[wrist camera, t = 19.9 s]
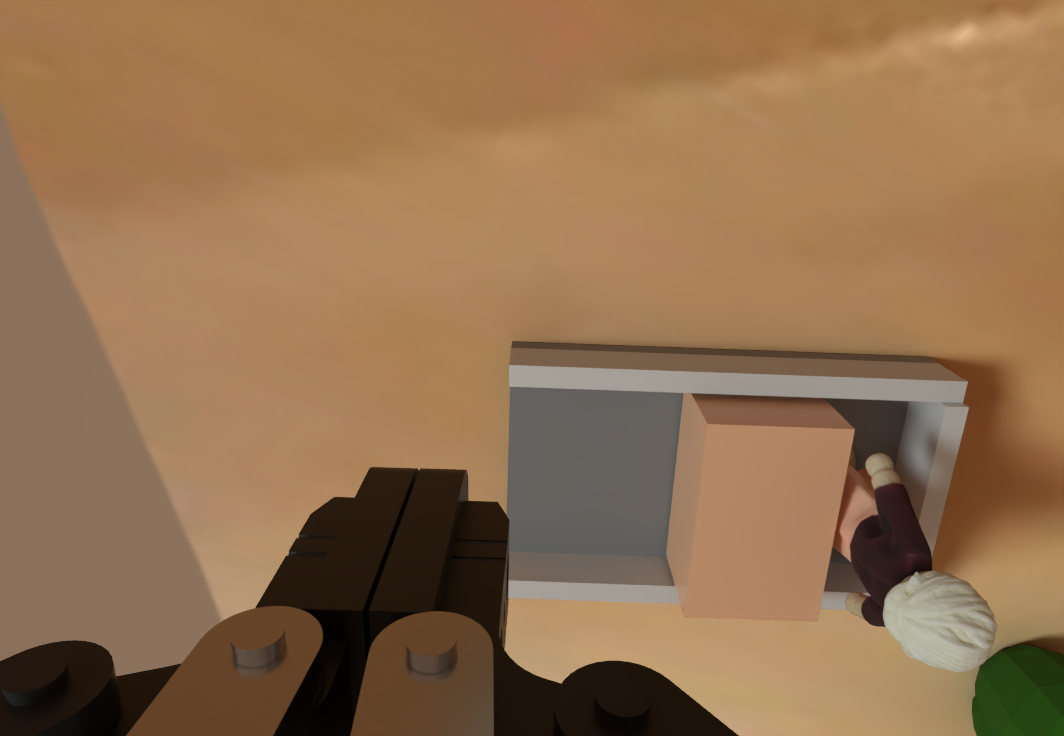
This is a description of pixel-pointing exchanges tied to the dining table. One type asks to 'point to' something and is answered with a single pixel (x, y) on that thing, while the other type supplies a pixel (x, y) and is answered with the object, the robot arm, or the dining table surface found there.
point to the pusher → (756, 505)
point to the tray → (651, 449)
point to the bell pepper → (1020, 693)
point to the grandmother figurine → (906, 574)
